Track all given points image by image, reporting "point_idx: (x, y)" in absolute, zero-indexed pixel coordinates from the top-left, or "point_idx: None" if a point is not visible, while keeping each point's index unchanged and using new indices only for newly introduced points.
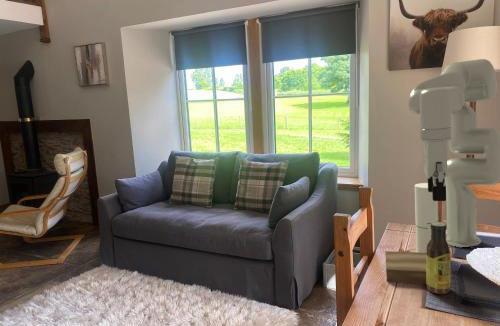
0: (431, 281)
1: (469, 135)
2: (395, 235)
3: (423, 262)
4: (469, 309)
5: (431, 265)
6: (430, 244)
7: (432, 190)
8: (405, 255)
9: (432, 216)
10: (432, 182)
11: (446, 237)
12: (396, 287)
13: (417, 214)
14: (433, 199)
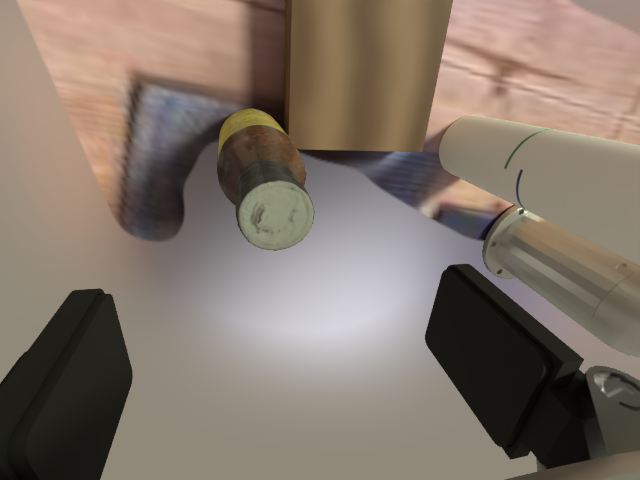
0: (226, 122)
1: None
2: (619, 66)
3: (354, 119)
4: (162, 196)
5: (226, 133)
6: (248, 149)
7: (27, 381)
8: (410, 65)
9: (538, 200)
10: (495, 363)
11: None
12: (247, 6)
13: (578, 144)
14: (71, 300)
